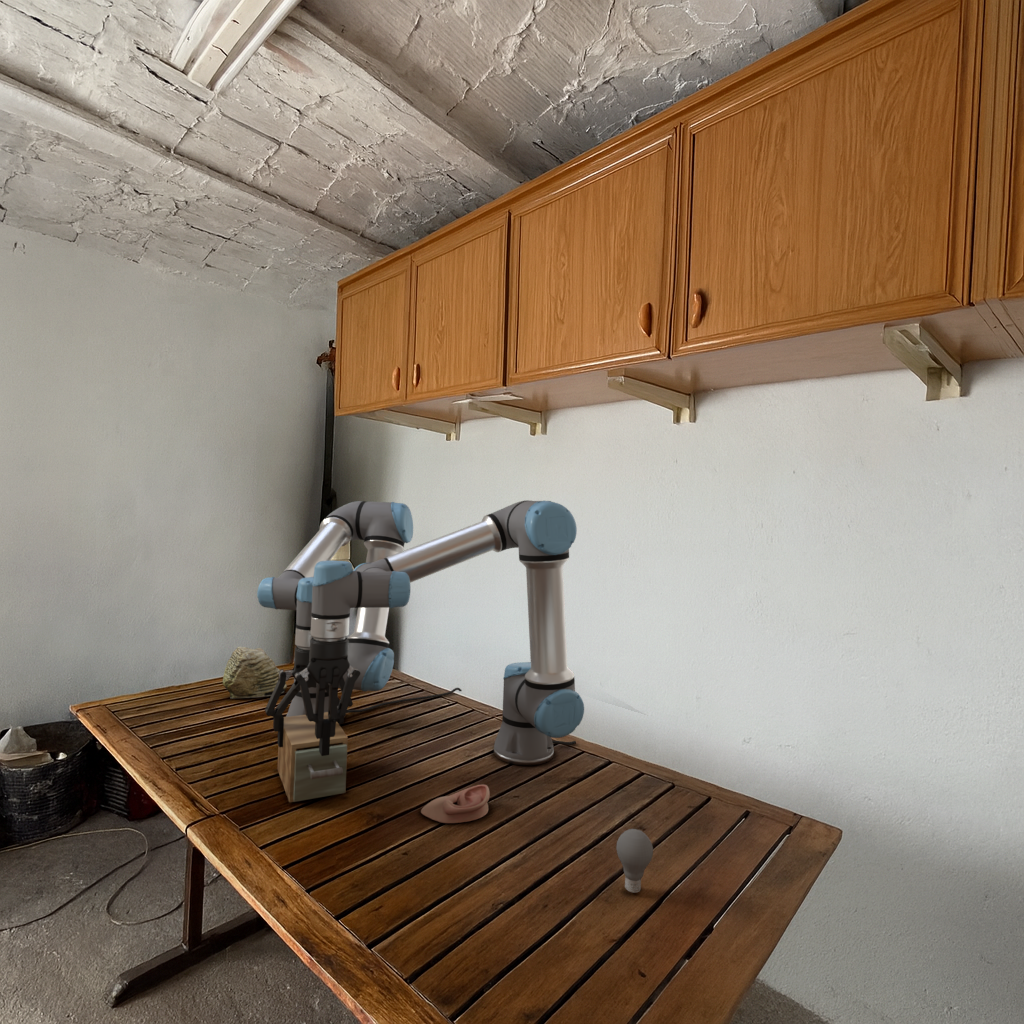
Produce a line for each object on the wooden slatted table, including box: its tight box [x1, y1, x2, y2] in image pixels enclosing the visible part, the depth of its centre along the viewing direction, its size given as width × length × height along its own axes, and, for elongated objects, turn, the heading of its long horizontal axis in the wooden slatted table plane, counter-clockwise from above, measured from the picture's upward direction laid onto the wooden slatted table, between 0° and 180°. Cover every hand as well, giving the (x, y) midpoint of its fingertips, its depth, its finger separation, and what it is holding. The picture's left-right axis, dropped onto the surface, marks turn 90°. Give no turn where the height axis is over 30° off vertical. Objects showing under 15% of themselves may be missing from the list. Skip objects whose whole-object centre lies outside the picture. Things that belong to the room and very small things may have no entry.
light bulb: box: [615, 828, 654, 894], centre depth 106 cm, size 6×6×10 cm
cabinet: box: [277, 712, 349, 804], centre depth 141 cm, size 17×12×12 cm
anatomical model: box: [420, 784, 491, 824], centre depth 130 cm, size 13×4×12 cm
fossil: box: [222, 646, 288, 699], centre depth 198 cm, size 9×18×15 cm, turn 132°
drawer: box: [293, 743, 348, 803], centre depth 136 cm, size 21×10×10 cm, turn 28°
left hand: (308, 741), depth 144 cm, fingers closed on cabinet, 12 cm apart
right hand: (324, 752), depth 129 cm, fingers closed
